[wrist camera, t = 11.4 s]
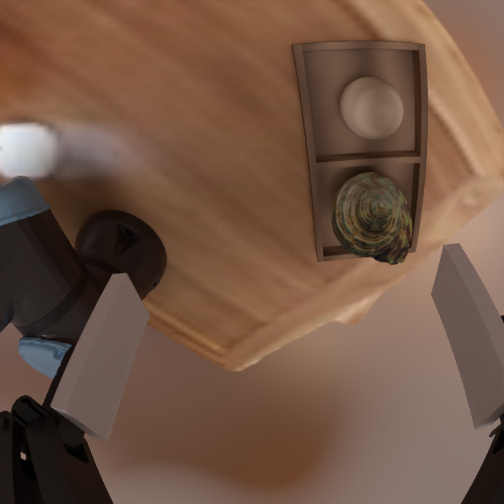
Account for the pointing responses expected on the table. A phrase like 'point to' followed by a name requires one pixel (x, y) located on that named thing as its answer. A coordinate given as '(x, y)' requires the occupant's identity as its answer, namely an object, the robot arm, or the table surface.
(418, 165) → the holder
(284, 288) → the table surface
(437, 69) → the table surface
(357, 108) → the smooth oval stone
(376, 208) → the seashell
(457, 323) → the robot arm
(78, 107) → the table surface
